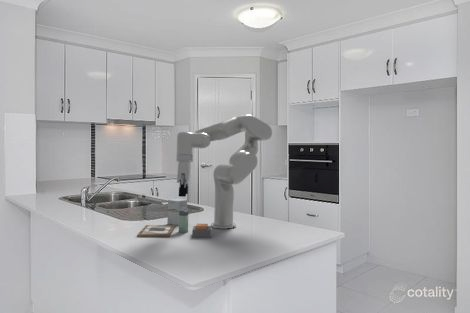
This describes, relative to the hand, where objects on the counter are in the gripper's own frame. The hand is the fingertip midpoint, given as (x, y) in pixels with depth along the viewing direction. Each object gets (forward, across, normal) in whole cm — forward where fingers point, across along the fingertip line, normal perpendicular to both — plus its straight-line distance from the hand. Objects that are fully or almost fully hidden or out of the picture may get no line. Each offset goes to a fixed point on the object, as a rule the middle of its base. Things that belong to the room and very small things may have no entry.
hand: (183, 195), depth 169 cm
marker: (+17, 0, +1) cm, 17 cm away
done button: (+15, +7, +10) cm, 19 cm away
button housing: (+17, +7, +10) cm, 21 cm away
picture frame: (+18, +1, -11) cm, 21 cm away
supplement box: (+17, -18, -4) cm, 26 cm away
